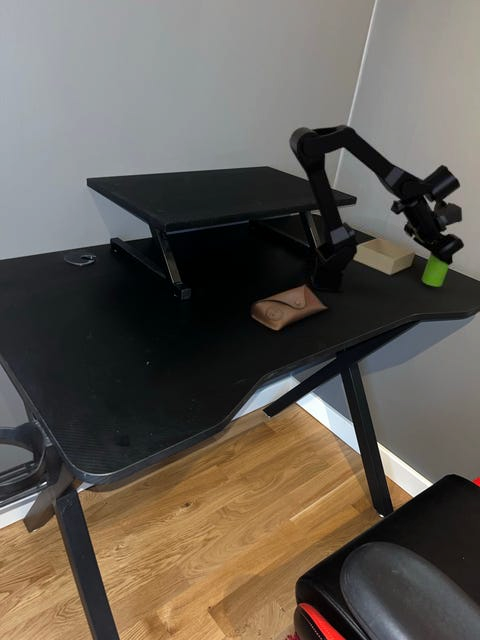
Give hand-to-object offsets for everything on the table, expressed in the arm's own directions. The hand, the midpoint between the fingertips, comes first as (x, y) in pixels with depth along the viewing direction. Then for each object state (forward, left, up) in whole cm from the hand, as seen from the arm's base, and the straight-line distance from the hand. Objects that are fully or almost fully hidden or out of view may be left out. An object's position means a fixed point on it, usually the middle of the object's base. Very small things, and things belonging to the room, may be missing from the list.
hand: (444, 259), depth 117 cm
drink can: (-1, 0, -7) cm, 7 cm away
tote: (-10, +15, -9) cm, 20 cm away
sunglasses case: (-40, -21, -9) cm, 46 cm away
